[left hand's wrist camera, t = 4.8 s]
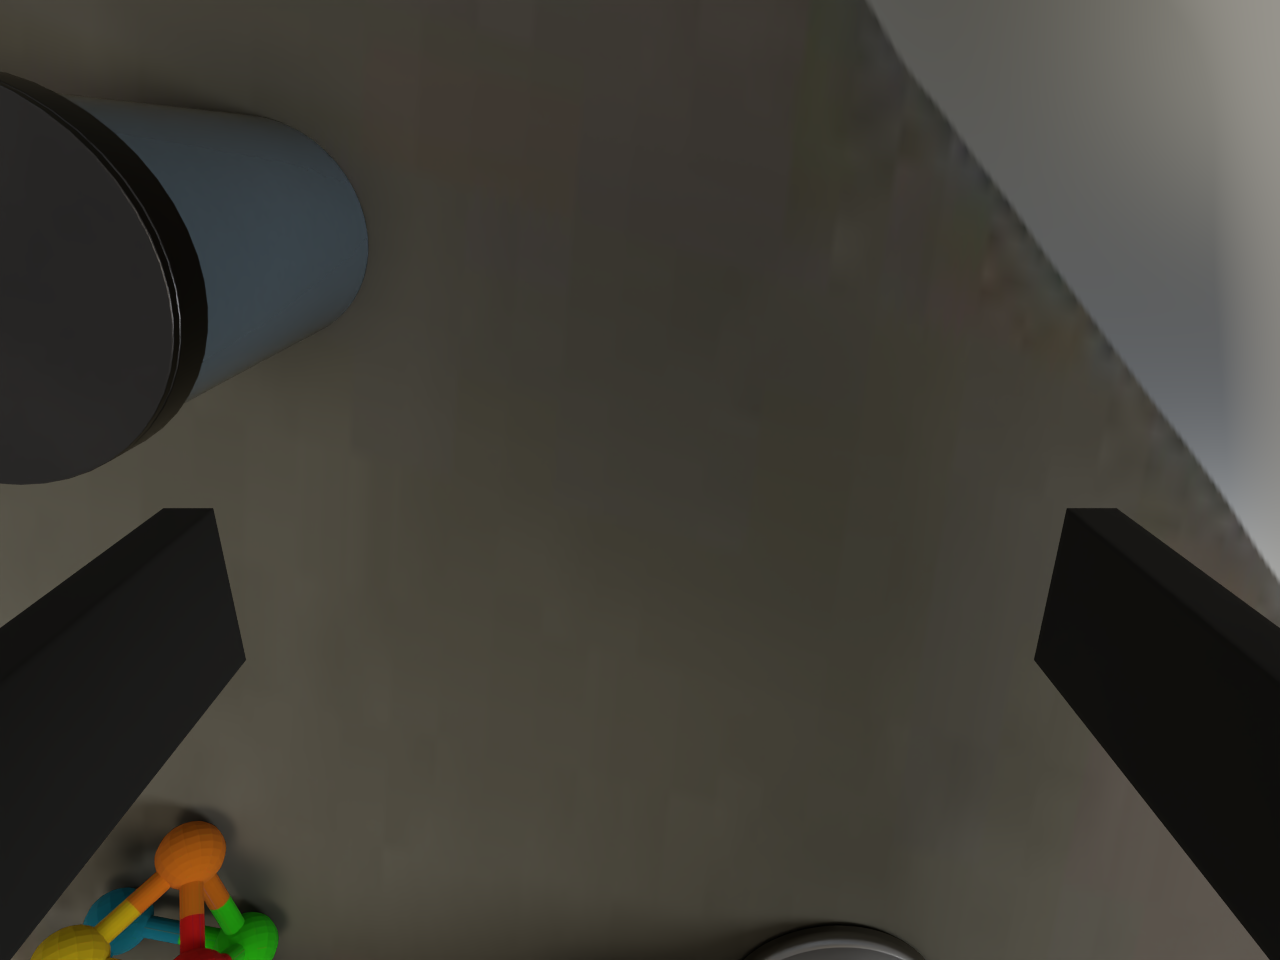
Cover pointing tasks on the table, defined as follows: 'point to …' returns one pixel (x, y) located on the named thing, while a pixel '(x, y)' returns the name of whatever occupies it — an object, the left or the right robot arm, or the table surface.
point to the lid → (87, 292)
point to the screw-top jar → (251, 224)
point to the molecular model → (127, 917)
